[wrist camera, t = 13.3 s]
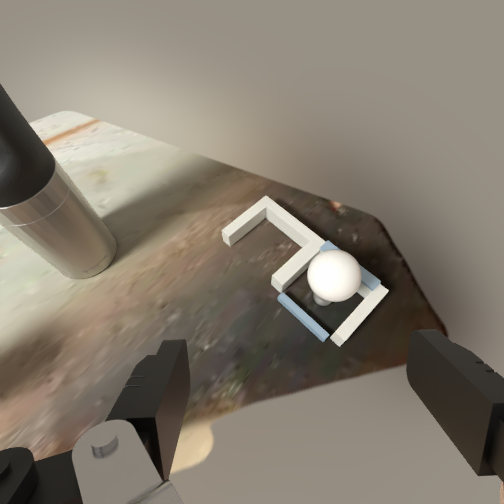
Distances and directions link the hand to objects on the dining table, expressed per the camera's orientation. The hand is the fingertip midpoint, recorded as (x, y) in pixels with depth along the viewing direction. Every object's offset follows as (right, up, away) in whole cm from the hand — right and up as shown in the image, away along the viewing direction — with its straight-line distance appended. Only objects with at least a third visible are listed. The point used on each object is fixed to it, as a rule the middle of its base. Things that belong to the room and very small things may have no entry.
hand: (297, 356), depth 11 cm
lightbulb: (+8, -3, +34) cm, 35 cm away
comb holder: (+4, 0, +35) cm, 36 cm away
